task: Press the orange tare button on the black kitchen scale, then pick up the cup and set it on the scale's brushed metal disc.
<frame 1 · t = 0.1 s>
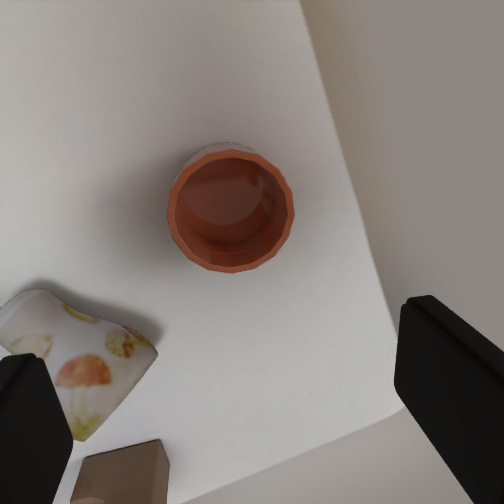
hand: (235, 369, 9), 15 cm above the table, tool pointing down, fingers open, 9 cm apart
wooden block: (128, 458, 31), on the table
cup: (226, 196, 23), on the table
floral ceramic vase: (82, 330, 25), on the table
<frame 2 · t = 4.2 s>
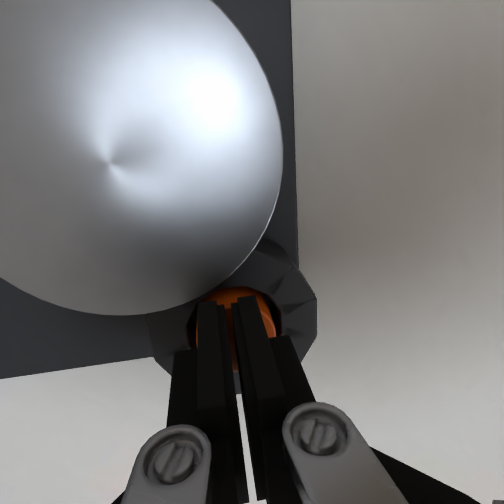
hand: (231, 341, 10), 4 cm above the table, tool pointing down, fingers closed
scale: (85, 188, 12), on the table
brushed metal disc: (113, 160, 9), resting on scale
tare button: (234, 324, 11), point 3 cm above the table, slide at -0.7 cm, touching gripper
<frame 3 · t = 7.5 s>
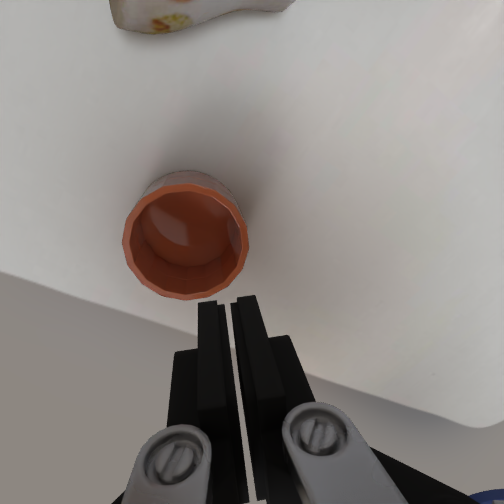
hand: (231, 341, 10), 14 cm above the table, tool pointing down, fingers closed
cup: (189, 222, 24), on the table
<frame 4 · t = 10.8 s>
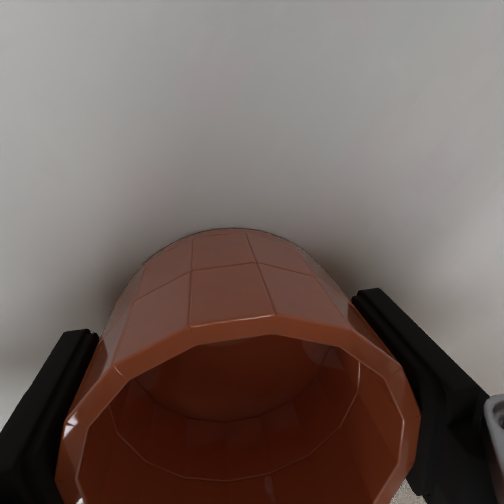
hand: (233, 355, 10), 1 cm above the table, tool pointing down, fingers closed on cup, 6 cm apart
cup: (230, 333, 11), on the table, touching gripper
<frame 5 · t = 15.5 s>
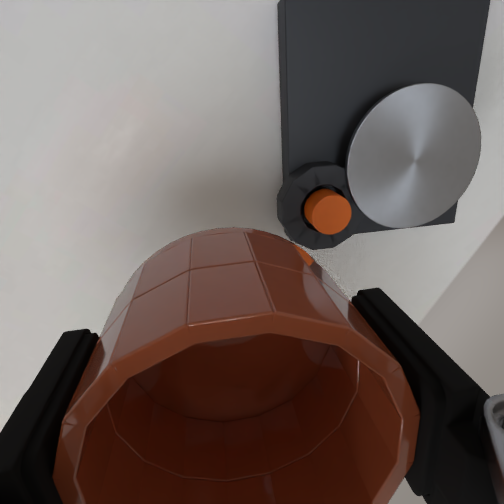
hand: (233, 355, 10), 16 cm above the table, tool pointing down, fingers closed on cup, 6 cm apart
cup: (230, 332, 11), point 15 cm above the table, touching gripper
scale: (368, 124, 24), on the table
brushed metal disc: (411, 160, 21), resting on scale
tare button: (327, 211, 21), point 4 cm above the table, slide at 0.1 cm
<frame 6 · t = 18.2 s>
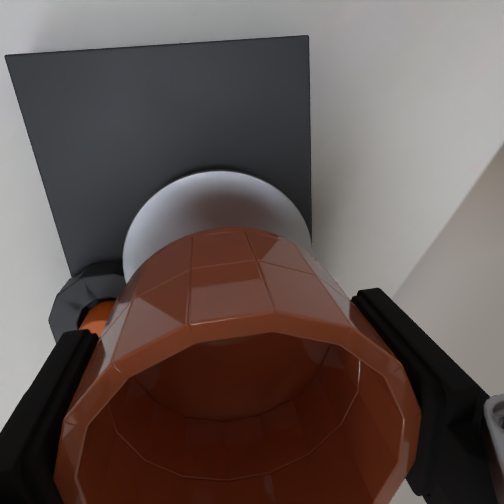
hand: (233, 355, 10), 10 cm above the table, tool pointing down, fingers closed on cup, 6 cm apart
cup: (230, 332, 11), point 9 cm above the table, touching gripper
scale: (189, 204, 18), on the table
brushed metal disc: (220, 262, 16), resting on scale
tare button: (108, 332, 16), point 4 cm above the table, slide at 0.1 cm
when the fingers open (5 cm above the table, at t = 20.2 s): cup stays where it is, resting on brushed metal disc.
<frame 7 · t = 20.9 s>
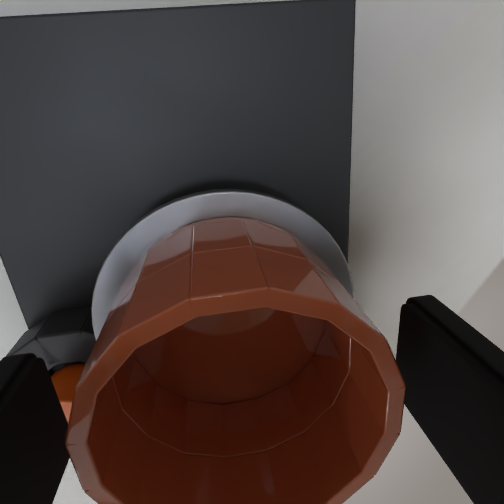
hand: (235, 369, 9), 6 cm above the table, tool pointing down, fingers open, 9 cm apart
cup: (229, 318, 11), point 4 cm above the table, touching brushed metal disc
scale: (186, 228, 14), on the table
brushed metal disc: (228, 313, 12), resting on scale
tare button: (75, 408, 12), point 4 cm above the table, slide at 0.1 cm
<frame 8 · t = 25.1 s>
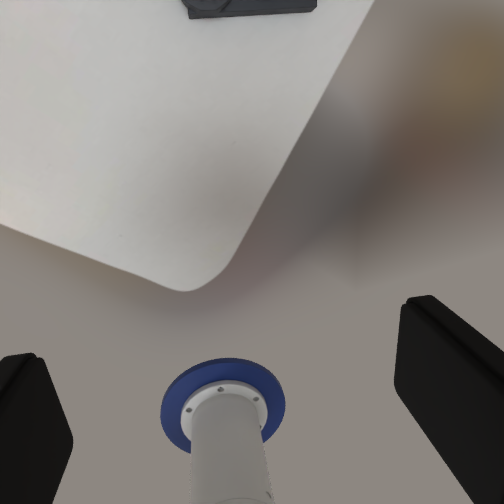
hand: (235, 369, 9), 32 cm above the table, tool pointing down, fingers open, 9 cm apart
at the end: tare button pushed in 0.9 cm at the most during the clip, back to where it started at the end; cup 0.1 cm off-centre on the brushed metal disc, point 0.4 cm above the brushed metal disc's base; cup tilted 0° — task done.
